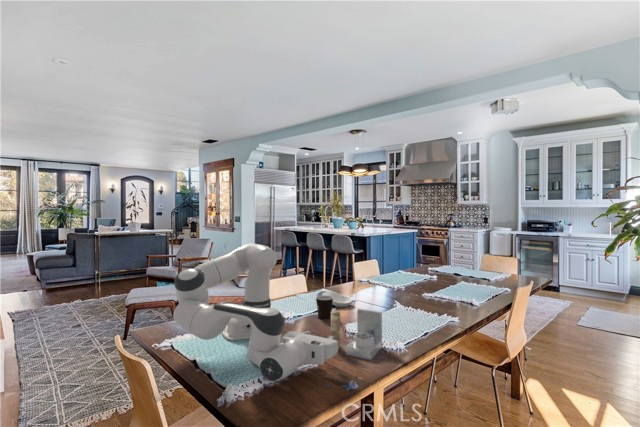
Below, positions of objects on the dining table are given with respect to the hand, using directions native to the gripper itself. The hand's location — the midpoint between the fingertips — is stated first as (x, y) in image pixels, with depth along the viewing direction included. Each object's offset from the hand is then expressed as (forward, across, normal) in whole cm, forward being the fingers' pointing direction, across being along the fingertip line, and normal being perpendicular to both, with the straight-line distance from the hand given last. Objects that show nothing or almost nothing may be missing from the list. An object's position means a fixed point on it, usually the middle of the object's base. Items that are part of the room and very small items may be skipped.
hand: (320, 335), depth 125 cm
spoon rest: (+65, -28, -9) cm, 71 cm away
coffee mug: (+43, -22, -9) cm, 49 cm away
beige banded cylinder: (+12, 0, -9) cm, 15 cm away
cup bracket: (+14, +11, -9) cm, 20 cm away
